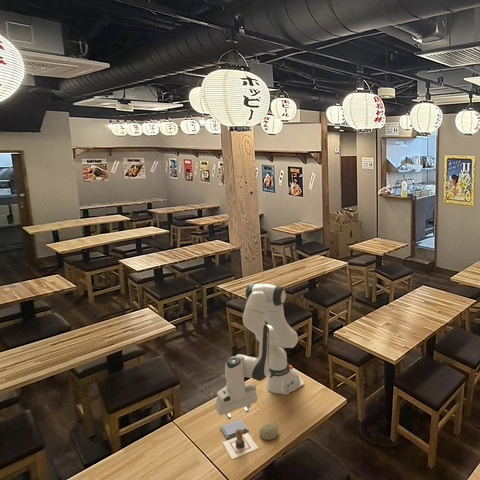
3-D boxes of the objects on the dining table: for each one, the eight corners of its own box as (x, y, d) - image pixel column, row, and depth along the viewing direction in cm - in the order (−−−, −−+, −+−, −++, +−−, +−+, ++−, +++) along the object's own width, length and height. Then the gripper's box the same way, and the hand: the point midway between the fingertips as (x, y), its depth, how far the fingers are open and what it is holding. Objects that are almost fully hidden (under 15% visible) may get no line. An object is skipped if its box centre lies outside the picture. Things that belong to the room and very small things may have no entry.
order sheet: (247, 433, 205) (247, 432, 205) (258, 448, 194) (258, 448, 194) (222, 442, 199) (222, 442, 199) (231, 459, 189) (231, 458, 189)
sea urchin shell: (254, 429, 204) (264, 416, 205) (265, 434, 208) (274, 422, 209) (262, 441, 196) (272, 427, 197) (273, 446, 200) (283, 433, 200)
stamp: (242, 440, 199) (241, 425, 197) (246, 446, 195) (245, 431, 193) (234, 444, 198) (233, 428, 195) (237, 450, 194) (236, 434, 191)
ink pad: (241, 420, 214) (241, 418, 214) (248, 431, 206) (248, 428, 206) (220, 428, 209) (220, 425, 209) (227, 439, 201) (226, 436, 201)
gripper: (252, 380, 195) (254, 404, 199) (213, 393, 188) (216, 418, 191) (258, 387, 190) (260, 411, 194) (218, 401, 182) (221, 426, 186)
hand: (238, 415), depth 192 cm, fingers open, 8 cm apart
